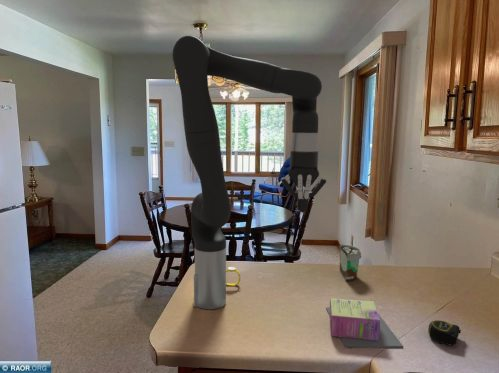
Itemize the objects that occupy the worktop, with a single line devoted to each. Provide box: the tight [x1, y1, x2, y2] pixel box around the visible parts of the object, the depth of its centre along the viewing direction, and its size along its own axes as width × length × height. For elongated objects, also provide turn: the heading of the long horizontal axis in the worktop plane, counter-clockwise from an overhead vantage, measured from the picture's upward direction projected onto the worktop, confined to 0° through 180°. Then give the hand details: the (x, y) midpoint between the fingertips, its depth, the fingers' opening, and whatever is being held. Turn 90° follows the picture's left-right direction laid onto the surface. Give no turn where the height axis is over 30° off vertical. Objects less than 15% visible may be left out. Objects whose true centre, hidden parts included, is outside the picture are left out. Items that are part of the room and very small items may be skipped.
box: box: [328, 297, 380, 341], centre depth 97 cm, size 10×6×12 cm
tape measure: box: [427, 319, 462, 346], centre depth 94 cm, size 7×7×4 cm
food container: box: [339, 244, 362, 282], centre depth 134 cm, size 12×6×10 cm, turn 179°
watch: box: [226, 266, 241, 287], centre depth 125 cm, size 6×3×6 cm, turn 91°
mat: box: [325, 306, 404, 349], centre depth 100 cm, size 14×20×1 cm
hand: (302, 211), depth 105 cm, fingers closed
